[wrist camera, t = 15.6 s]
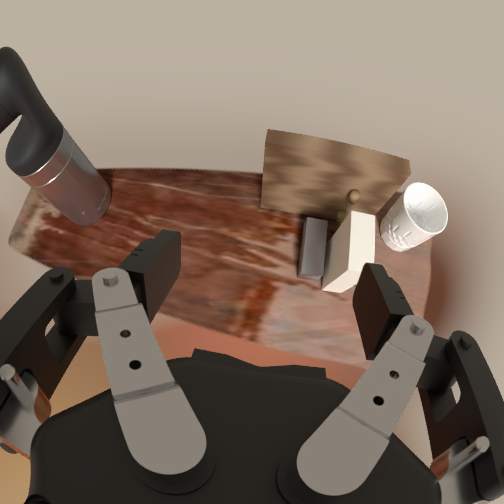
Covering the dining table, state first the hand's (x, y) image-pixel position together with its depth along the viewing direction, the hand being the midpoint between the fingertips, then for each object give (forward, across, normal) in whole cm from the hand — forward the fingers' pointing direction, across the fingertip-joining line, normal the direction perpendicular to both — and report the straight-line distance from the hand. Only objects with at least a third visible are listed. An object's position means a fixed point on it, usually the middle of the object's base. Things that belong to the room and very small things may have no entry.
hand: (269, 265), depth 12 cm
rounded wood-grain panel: (+29, -7, +11) cm, 32 cm away
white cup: (+32, -21, +9) cm, 39 cm away
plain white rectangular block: (+27, -10, +14) cm, 32 cm away
